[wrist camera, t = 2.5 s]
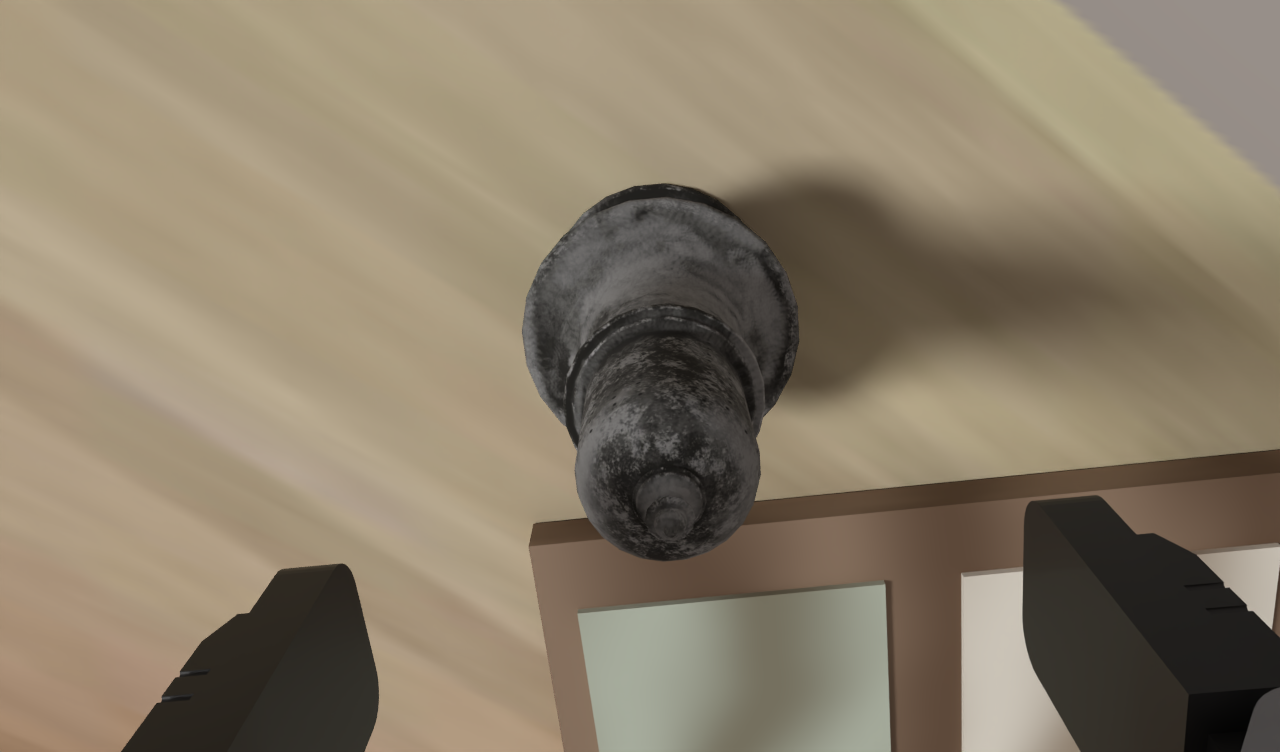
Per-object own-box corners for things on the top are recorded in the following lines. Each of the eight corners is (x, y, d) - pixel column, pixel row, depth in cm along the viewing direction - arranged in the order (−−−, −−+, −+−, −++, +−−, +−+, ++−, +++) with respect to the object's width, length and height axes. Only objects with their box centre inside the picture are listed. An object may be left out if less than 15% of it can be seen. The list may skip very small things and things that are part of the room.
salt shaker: (812, 212, 24) (964, 397, 13) (733, 429, 26) (802, 757, 14) (575, 139, 23) (511, 263, 12) (512, 366, 25) (405, 657, 14)
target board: (591, 866, 31) (589, 904, 29) (533, 524, 27) (527, 550, 25) (1252, 810, 30) (1279, 847, 29) (1297, 448, 26) (1332, 471, 24)
